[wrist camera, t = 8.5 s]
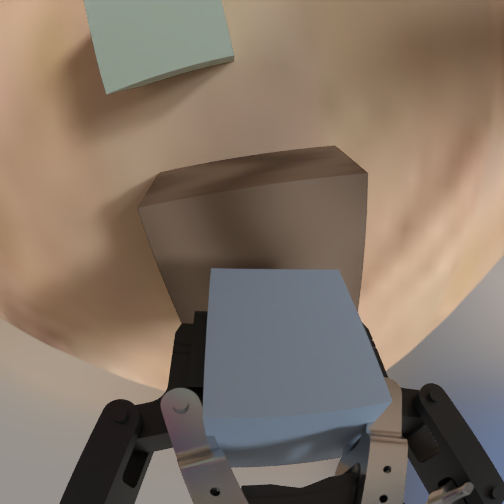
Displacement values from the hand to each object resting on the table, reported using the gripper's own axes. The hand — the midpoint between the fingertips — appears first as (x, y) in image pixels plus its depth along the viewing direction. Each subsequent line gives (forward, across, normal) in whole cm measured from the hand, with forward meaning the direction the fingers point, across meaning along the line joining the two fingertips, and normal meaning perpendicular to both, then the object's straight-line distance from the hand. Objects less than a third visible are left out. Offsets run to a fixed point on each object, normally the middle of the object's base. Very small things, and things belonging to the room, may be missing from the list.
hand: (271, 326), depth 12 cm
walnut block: (+8, 0, 0) cm, 8 cm away
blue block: (+1, 0, 0) cm, 1 cm away
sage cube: (+8, +5, -12) cm, 15 cm away
